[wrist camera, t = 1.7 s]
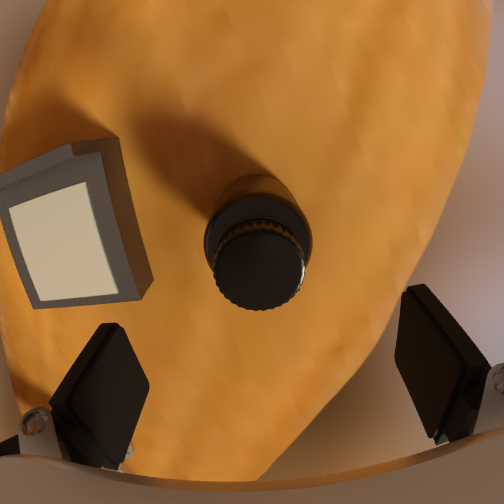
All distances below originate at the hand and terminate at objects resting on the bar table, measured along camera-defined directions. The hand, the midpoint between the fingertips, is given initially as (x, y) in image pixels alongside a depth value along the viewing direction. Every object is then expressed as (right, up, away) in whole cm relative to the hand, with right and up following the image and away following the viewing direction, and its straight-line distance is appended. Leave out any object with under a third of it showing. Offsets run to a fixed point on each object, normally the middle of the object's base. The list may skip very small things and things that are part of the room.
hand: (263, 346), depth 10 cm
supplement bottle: (0, +7, +17) cm, 19 cm away
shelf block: (-18, +6, +18) cm, 26 cm away
